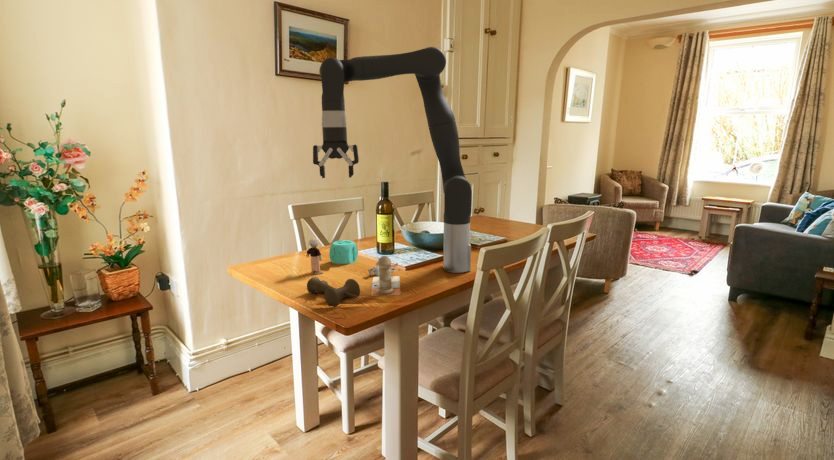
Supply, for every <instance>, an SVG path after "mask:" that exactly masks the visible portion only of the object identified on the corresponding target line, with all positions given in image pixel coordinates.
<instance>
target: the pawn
mask: <svg viewBox="0 0 834 460" xmlns="http://www.w3.org/2000/svg"><path fill="white" fill-rule="evenodd" d="M377 262H378V266H377V267H379V276H378V277H379V282H378V283H380V287H379V288H378V289H379V293H380V294H391V293H393V289H394V288H393V287H392V283H391V276H392V273H391V270H392V269H391V268H392V267H390V266H391V265H392V260H391V258H390V257H389V256H386V255H383V256H380V257H379V258H378V260H377Z"/></svg>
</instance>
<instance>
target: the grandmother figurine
mask: <svg viewBox="0 0 834 460" xmlns="http://www.w3.org/2000/svg"><path fill="white" fill-rule="evenodd" d="M318 241H319V240H318V238H317V237H312V238H310V240H308V243H307V244H308V246H310V248H308V249H307V251H306V257H307V258H308V257H310V264H311V265H310V266H311V267H310V268H311V271H310V274H315V275H322V274H324V272H323V270H321V267H320V266H321V265H320V262H321V261H323V257H322V254H321V250H320V249H319V248H318V245H319V242H318Z"/></svg>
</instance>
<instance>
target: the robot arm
mask: <svg viewBox="0 0 834 460" xmlns="http://www.w3.org/2000/svg"><path fill="white" fill-rule="evenodd" d="M446 64H447V59H446V55H445V54H444V52H443V51H442V50H441V49H440V48H438V47H434V46H428V47H424V48H421V49H418V50H414V51H409V52H404V53H395V54H381V55H367V56H363V55H362V56H355V57H352V58H350V59H338V58H336V57H332V56H331V57H327V58H325V59H324V60H323V61H322V62H321V64H320V66H319V72H318V73H319V75H320V78H321V79H320V80H321V91H322V92H321V93H322V94H321V110H322V111H321V112H322V113H321V128H322V129H321V131H322V145H317V144H314V145H313V146H312V164H313V165H316V166H318V168H319V176H320V177H321V179H326V167H325V163H326V162H327V161H328V159H330V160H334V159H339V160H340V159H343V160H345V162H346V163H347V164H348V178H352V177H353V176H354V172H355V171H354V165H356V164H358V163H359V162H360V161H359V160H360V159H359V150H358V145H357V144H350V145H349V144H348V135H347V134H348V133H347V132H348V130H347V116H346V108H345V105H346V104H345V95H344V94H345V93H344V91H345V90H344V89H345V83H348V82H354V81H356V82H357V81H358V82H359V81H371V80H373V81H374V80H380V79H386V78H390V77H395V76H396V77H397V76H401V75H411V74H412V75H415V79H416V81H417V84H418V87H419V90H420V93H421V96H422V101H423V106H424V112H425V116H426V120H427V125H428V126H427V127H428V131H429V135H430V140H431V143H432V146H433V148H434V152H435V156H436V157H437V160H438V162H439V166H440V167H439V168H440V173H441V181H442V189H443V195H444V204H443V205H444V206H443V207H444V209H443V210H444V212H443V270H444V271H445V272H448V273H453V274H454V273H455V274H458V273H459V274H462V273H467V272H471V270H472V269H471V267H472V245H471V239H470V238H471V216H472V205H473V204H472V203H473V201H472V200H473V195H472V194H473V192H472V191H473V189H472V186H471V183H470V182H469V180H468V179H467V177H466V174H465V172H464V168H463V165H462V162H461V155H460V153H461V151H460V138H459V131H458V128H457V127H458V126H457V123H456V122H457V121H456V117H455V115H454V112H453V110H452V108H451V106H450V104H449V102H448V100H447V98H446V97H445V94H444V91H443V87H442V82H441V75H440V74H442V72H444V70H445V68H446ZM349 149H350V151H351V152H352V153H353V160H352V159H351V158H350V157H349V154H347V152H348V151H349ZM321 150H322V151H323V152H324V155H323V157H322V158H321V160H319V153H320V152H321Z"/></svg>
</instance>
